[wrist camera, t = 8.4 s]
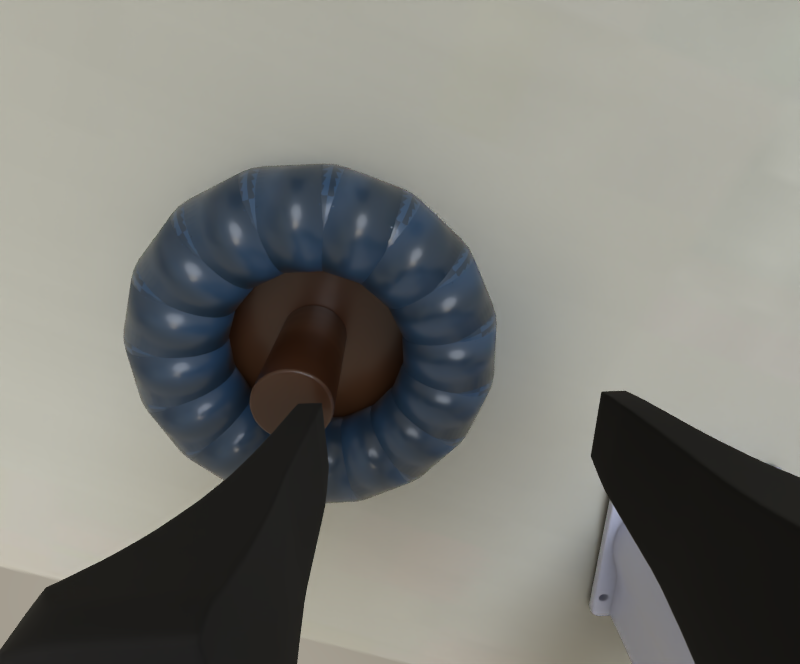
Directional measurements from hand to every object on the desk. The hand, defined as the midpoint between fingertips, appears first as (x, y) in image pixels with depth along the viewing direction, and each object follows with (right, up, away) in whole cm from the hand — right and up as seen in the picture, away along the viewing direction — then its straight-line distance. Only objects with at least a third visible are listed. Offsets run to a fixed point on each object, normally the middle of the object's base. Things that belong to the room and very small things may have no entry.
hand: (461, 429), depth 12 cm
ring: (-4, +2, +4) cm, 7 cm away
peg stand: (-5, +3, +7) cm, 9 cm away
